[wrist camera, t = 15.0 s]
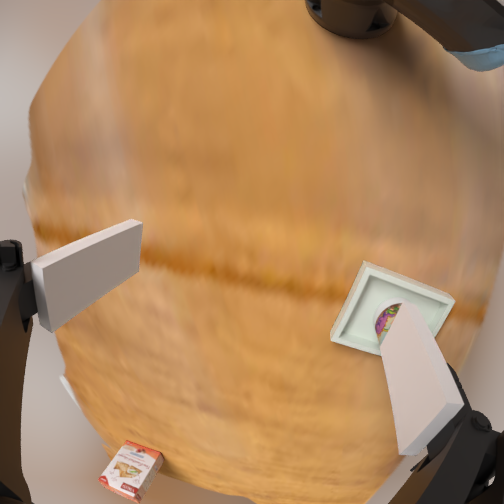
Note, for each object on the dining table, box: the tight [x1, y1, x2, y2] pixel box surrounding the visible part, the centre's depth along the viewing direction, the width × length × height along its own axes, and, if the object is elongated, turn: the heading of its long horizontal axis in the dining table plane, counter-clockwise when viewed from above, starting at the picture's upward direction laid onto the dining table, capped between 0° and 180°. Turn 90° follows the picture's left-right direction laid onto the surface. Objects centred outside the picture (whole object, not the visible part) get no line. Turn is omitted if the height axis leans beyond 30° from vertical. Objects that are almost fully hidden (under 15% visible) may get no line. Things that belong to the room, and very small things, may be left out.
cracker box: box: [98, 441, 164, 503], centre depth 67 cm, size 14×6×21 cm, turn 92°
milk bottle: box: [373, 297, 411, 346], centre depth 35 cm, size 8×8×20 cm
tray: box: [330, 260, 455, 356], centre depth 44 cm, size 14×18×3 cm
